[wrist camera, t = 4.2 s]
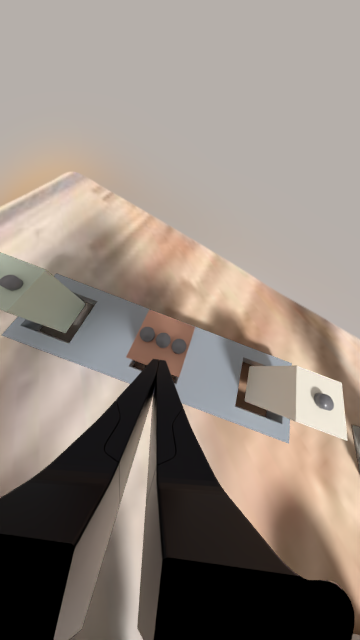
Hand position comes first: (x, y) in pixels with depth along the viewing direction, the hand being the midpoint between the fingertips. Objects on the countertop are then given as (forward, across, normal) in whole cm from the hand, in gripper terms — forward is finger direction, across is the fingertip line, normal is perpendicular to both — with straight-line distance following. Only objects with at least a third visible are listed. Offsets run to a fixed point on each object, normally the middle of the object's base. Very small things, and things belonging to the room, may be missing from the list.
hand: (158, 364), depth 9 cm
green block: (+10, +14, +3) cm, 18 cm away
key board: (+10, 0, +7) cm, 12 cm away
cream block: (+6, -14, +7) cm, 17 cm away
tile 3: (+8, 0, +5) cm, 9 cm away
